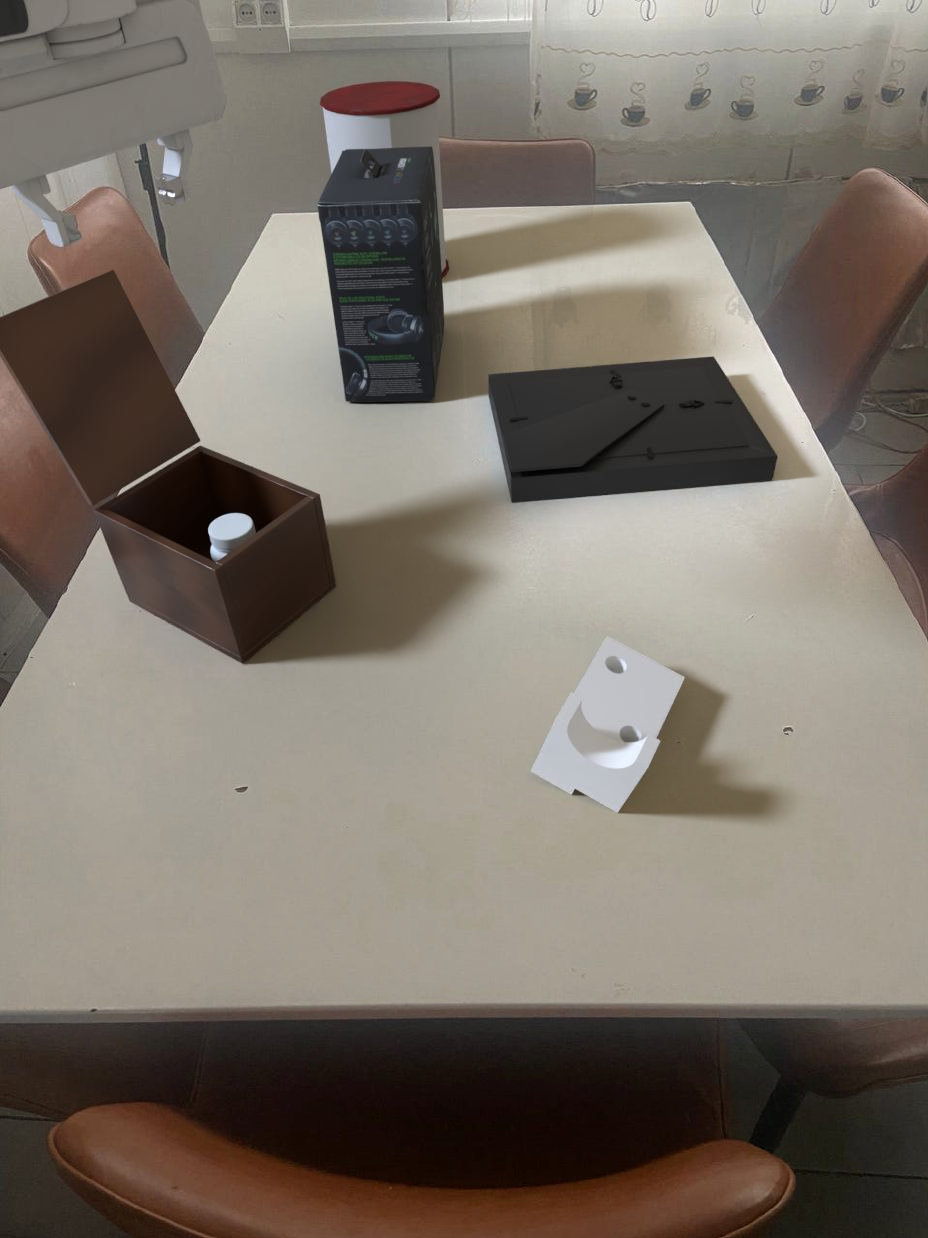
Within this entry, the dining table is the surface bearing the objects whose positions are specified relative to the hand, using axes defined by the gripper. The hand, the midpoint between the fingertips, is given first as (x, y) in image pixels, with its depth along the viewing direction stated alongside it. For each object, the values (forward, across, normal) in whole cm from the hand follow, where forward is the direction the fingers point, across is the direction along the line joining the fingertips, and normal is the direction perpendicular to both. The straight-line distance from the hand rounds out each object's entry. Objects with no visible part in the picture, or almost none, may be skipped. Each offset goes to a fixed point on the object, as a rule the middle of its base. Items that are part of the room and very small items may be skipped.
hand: (123, 221), depth 63 cm
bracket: (+35, -5, +39) cm, 53 cm away
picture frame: (+35, -45, +17) cm, 60 cm away
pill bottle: (+34, 0, +3) cm, 34 cm away
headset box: (+35, -46, -17) cm, 60 cm away
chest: (+35, 0, 0) cm, 35 cm away
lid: (+16, 0, -10) cm, 18 cm away
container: (+35, -70, -38) cm, 87 cm away
